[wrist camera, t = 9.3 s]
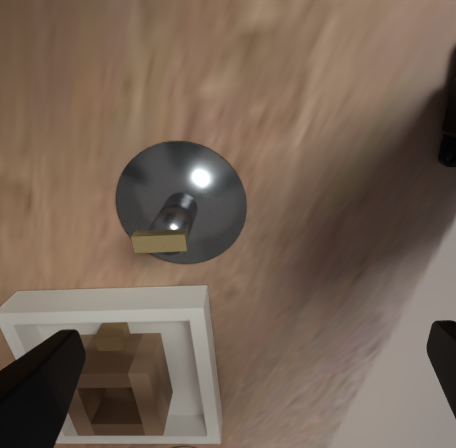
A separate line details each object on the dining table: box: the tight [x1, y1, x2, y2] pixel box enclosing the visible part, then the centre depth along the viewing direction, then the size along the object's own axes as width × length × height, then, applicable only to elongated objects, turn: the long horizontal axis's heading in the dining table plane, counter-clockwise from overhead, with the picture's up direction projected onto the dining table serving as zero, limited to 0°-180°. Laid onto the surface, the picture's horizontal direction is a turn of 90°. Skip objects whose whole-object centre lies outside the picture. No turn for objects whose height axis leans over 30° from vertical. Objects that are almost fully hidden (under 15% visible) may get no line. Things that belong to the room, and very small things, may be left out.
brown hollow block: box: [68, 322, 173, 436], centre depth 23 cm, size 8×6×4 cm
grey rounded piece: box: [116, 141, 246, 264], centre depth 17 cm, size 8×8×5 cm
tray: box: [0, 285, 223, 444], centre depth 24 cm, size 14×14×2 cm
